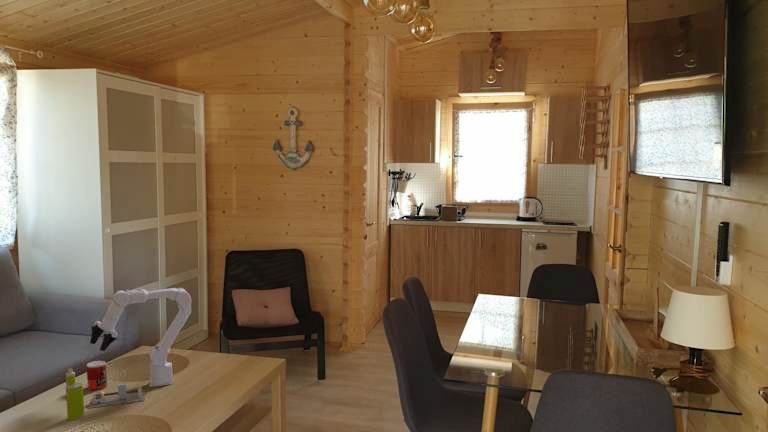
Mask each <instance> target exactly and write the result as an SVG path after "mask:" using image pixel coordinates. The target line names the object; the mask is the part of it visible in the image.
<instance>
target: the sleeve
mask: <svg viewBox="0 0 768 432" xmlns="http://www.w3.org/2000/svg"><path fill="white" fill-rule="evenodd" d="M126 391H128V389H127V383H126V382H124V383H118V384H117V392H118V394H117V395H118V397H119V398H124V397H127V394H128V393H126Z"/></svg>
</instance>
